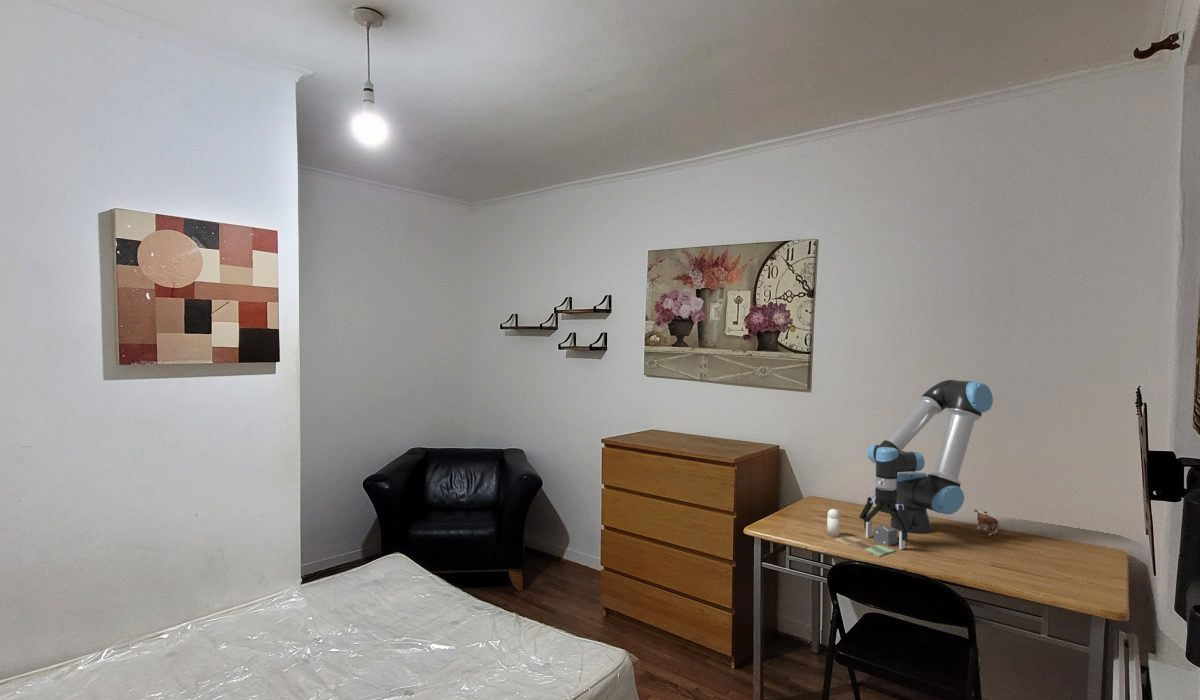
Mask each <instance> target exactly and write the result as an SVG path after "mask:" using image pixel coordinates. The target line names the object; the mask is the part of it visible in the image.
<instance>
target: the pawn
mask: <svg viewBox="0 0 1200 700" xmlns="http://www.w3.org/2000/svg"><path fill="white" fill-rule="evenodd" d="M840 517H841V513H840V511H839V510H838V509H836V508H831V509H829V510H828V511H827V517H826V518H827V521H826V524H827V528H826V533H827V535H829V536H832V537H839V536H840V533H841V531H840V530H841V524H840V523H841V518H840Z"/></svg>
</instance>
